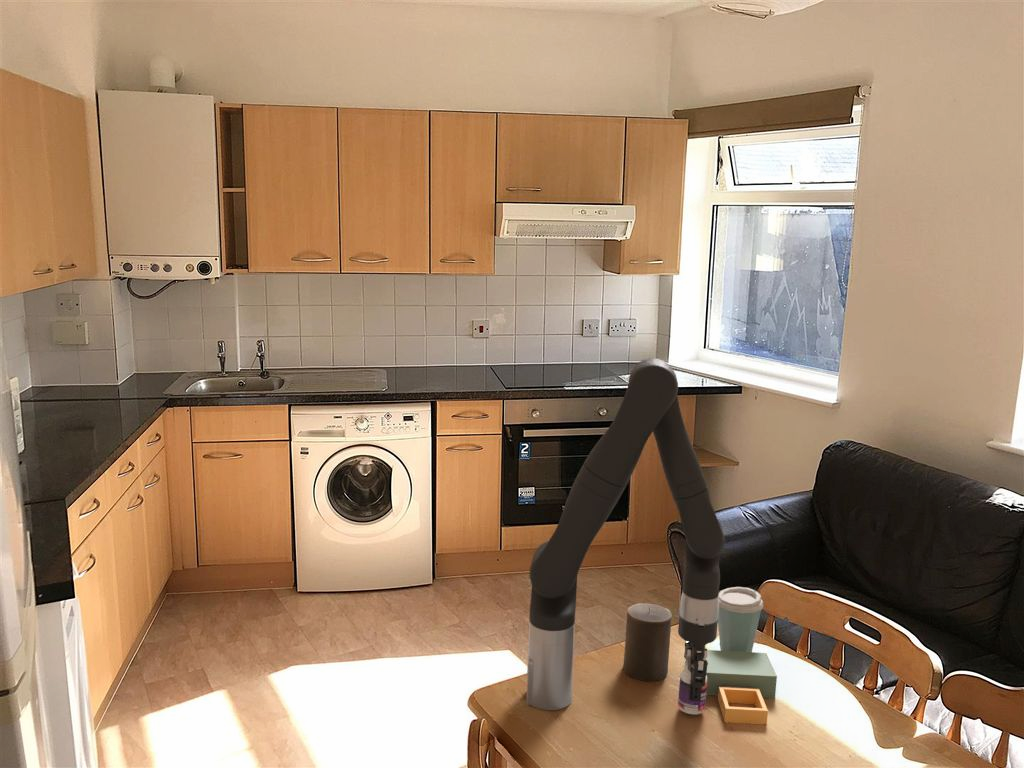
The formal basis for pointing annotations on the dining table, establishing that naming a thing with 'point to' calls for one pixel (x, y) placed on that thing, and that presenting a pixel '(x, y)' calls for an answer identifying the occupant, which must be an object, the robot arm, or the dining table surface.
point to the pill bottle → (683, 698)
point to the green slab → (741, 684)
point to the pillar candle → (647, 642)
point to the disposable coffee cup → (738, 618)
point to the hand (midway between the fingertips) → (692, 692)
